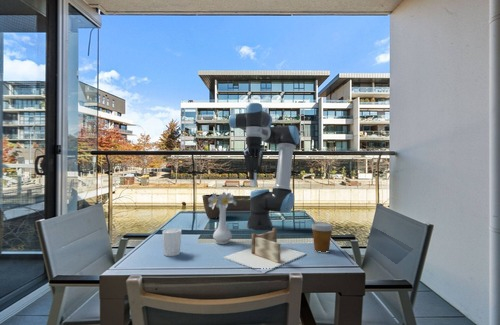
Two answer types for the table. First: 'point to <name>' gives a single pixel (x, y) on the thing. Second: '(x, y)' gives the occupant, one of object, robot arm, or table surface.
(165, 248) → the white cup
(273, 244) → the hinged fence panel
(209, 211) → the plant pot
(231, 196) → the flower vase
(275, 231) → the fixed fence section
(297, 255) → the board
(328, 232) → the disposable coffee cup
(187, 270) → the table surface
